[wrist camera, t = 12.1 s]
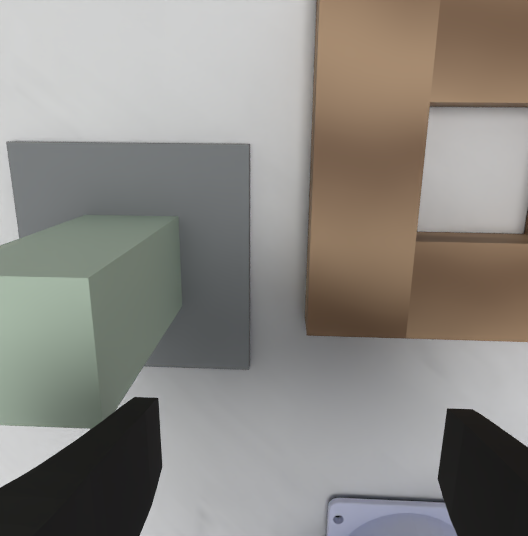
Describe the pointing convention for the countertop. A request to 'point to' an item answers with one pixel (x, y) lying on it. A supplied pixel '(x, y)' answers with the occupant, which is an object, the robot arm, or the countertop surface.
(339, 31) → the pocket holder
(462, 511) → the robot arm
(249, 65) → the countertop surface
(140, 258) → the sage block
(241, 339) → the slate mat
